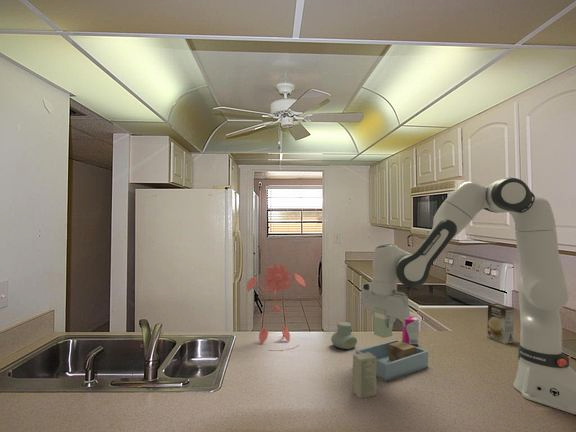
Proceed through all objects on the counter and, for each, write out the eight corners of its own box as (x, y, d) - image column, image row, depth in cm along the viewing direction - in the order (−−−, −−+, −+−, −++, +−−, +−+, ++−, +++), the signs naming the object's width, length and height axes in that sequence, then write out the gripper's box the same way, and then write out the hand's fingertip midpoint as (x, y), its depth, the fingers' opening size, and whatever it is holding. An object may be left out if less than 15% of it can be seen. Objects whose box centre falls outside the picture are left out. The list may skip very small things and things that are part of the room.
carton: (392, 336, 126) (392, 308, 126) (383, 338, 123) (384, 310, 123) (382, 332, 130) (383, 305, 130) (373, 334, 127) (374, 307, 127)
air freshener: (346, 341, 155) (346, 319, 155) (359, 347, 148) (360, 324, 148) (327, 346, 149) (328, 323, 149) (341, 352, 142) (341, 328, 142)
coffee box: (486, 337, 164) (486, 303, 164) (495, 336, 167) (496, 303, 167) (504, 344, 156) (505, 308, 156) (514, 342, 158) (514, 307, 158)
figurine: (244, 339, 154) (246, 261, 153) (299, 336, 159) (302, 261, 159) (247, 354, 139) (250, 267, 138) (309, 350, 144) (311, 267, 144)
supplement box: (414, 341, 157) (415, 316, 157) (418, 346, 151) (419, 320, 151) (401, 340, 158) (402, 315, 158) (405, 345, 152) (405, 319, 152)
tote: (427, 366, 130) (428, 351, 130) (385, 382, 117) (386, 364, 117) (396, 353, 142) (396, 339, 142) (355, 366, 129) (355, 350, 129)
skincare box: (369, 389, 112) (369, 351, 112) (376, 396, 107) (377, 357, 107) (351, 391, 110) (352, 353, 110) (358, 398, 105) (359, 359, 106)
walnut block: (415, 362, 132) (415, 346, 132) (403, 366, 128) (404, 350, 128) (400, 355, 138) (400, 340, 138) (388, 359, 134) (389, 344, 134)
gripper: (413, 292, 120) (412, 332, 120) (369, 282, 137) (368, 317, 137) (402, 294, 116) (401, 335, 116) (358, 283, 133) (357, 319, 133)
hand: (383, 325), depth 127 cm, fingers closed on carton, 4 cm apart
